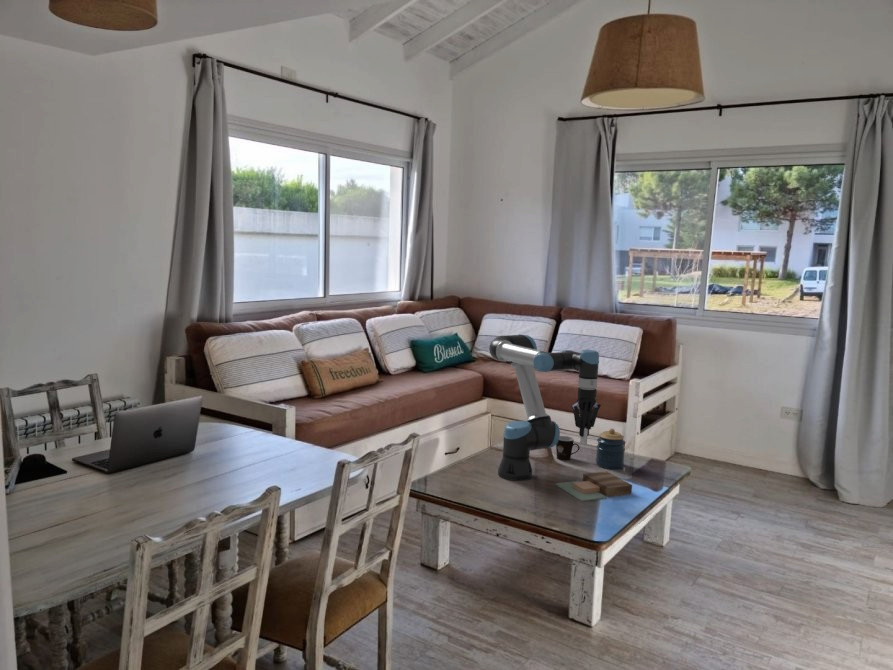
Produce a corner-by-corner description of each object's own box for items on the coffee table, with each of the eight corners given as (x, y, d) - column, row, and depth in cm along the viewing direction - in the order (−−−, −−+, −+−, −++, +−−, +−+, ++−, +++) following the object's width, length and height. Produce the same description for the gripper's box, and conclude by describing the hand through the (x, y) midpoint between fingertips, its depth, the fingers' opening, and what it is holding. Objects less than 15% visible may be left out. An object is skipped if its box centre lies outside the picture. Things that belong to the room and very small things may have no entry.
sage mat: (555, 484, 294) (555, 483, 294) (579, 481, 298) (579, 480, 298) (581, 501, 275) (581, 500, 275) (606, 498, 280) (606, 496, 280)
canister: (591, 466, 321) (594, 429, 318) (599, 459, 332) (602, 423, 330) (619, 471, 315) (622, 434, 312) (626, 464, 326) (629, 427, 324)
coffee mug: (550, 456, 332) (552, 436, 331) (565, 455, 336) (567, 435, 335) (564, 464, 322) (566, 443, 321) (579, 462, 326) (581, 441, 324)
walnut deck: (582, 482, 298) (583, 473, 297) (605, 479, 302) (606, 471, 302) (607, 497, 281) (607, 487, 281) (631, 494, 286) (632, 485, 285)
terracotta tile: (572, 487, 290) (572, 482, 290) (588, 485, 293) (588, 480, 293) (583, 493, 282) (583, 489, 282) (599, 491, 286) (599, 487, 285)
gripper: (578, 390, 275) (574, 447, 278) (606, 389, 280) (601, 445, 283) (568, 386, 282) (565, 442, 285) (595, 385, 287) (591, 440, 290)
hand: (583, 443), depth 284 cm, fingers closed
